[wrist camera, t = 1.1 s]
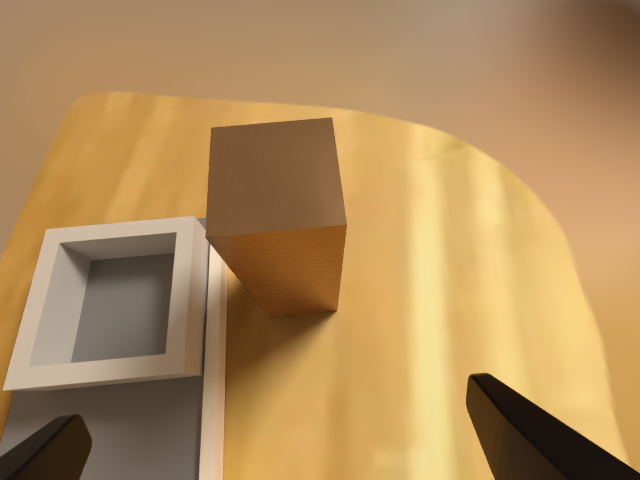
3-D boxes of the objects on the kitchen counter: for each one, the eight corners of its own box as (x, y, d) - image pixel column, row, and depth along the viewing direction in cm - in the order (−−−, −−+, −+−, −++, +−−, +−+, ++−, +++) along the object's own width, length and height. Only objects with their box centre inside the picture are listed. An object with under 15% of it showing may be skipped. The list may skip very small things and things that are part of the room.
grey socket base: (220, 579, 17) (190, 632, 13) (-25, 606, 16) (-125, 667, 13) (228, 222, 25) (211, 193, 21) (65, 237, 25) (19, 210, 21)
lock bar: (337, 310, 22) (346, 224, 11) (268, 317, 22) (205, 237, 11) (330, 247, 24) (332, 117, 13) (267, 253, 24) (211, 127, 12)
